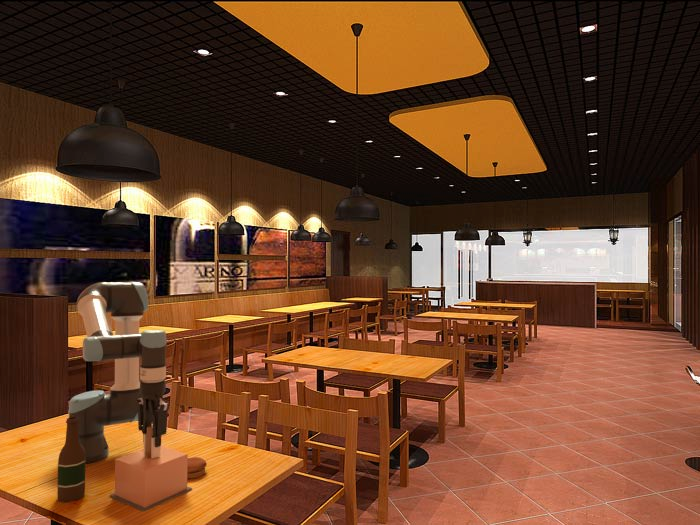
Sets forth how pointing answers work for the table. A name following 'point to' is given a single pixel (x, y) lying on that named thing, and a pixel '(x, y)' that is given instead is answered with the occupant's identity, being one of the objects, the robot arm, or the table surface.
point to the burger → (195, 467)
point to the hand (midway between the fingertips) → (151, 455)
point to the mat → (151, 504)
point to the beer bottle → (71, 465)
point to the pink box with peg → (150, 474)
